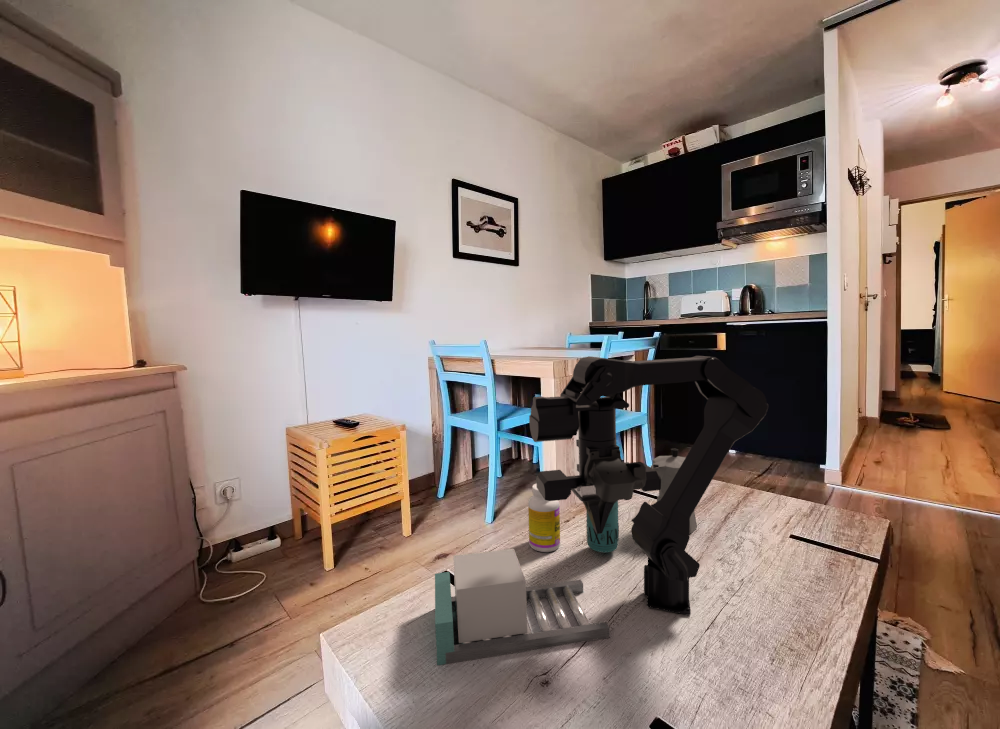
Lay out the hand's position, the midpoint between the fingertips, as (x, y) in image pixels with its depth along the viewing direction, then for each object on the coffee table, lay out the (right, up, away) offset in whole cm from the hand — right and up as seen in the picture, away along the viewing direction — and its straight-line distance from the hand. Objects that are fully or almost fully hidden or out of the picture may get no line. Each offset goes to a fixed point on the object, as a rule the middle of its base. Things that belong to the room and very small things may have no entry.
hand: (598, 532), depth 65 cm
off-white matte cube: (-17, -12, -2) cm, 21 cm away
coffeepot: (+25, -10, +29) cm, 40 cm away
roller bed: (-12, -14, -1) cm, 18 cm away
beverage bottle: (+5, -12, +18) cm, 22 cm away
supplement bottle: (-6, -12, +22) cm, 26 cm away
